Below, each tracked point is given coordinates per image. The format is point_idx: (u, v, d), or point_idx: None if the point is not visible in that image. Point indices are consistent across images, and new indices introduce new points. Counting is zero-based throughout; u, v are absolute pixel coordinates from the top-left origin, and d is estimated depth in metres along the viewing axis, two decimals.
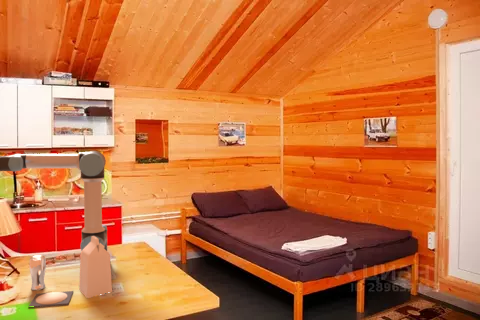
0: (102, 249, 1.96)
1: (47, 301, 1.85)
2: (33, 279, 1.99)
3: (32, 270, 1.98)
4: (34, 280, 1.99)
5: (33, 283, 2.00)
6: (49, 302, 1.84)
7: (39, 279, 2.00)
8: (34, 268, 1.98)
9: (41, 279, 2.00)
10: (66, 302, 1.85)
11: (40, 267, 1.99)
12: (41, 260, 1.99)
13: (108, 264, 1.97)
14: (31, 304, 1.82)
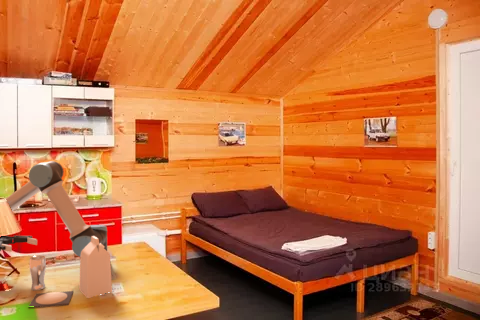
0: (102, 249, 1.96)
1: (47, 301, 1.85)
2: (33, 279, 1.99)
3: (32, 270, 1.98)
4: (34, 280, 1.99)
5: (33, 283, 2.00)
6: (49, 302, 1.84)
7: (39, 279, 2.00)
8: (34, 268, 1.98)
9: (41, 279, 2.00)
10: (66, 302, 1.85)
11: (40, 267, 1.99)
12: (41, 260, 1.99)
13: (108, 264, 1.97)
14: (31, 304, 1.82)
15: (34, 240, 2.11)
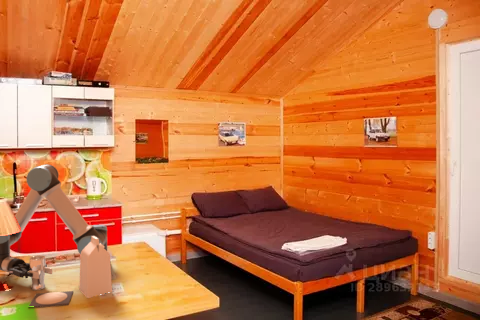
0: (102, 249, 1.96)
1: (47, 301, 1.85)
2: (33, 279, 1.99)
3: (32, 270, 1.98)
4: (34, 280, 1.99)
5: (33, 283, 2.00)
6: (49, 302, 1.84)
7: (39, 279, 2.00)
8: (34, 268, 1.98)
9: (41, 279, 2.00)
10: (66, 302, 1.85)
11: (40, 267, 1.99)
12: (41, 260, 1.99)
13: (108, 264, 1.97)
14: (31, 304, 1.82)
15: (49, 269, 2.02)
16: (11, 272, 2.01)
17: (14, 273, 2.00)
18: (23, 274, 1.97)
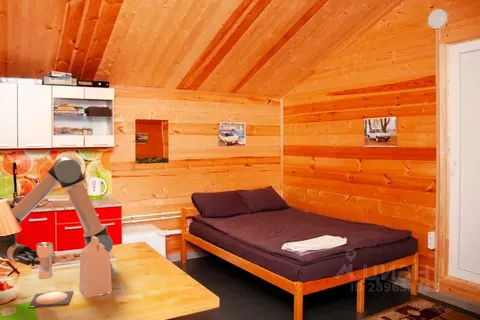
0: (102, 249, 1.96)
1: (47, 301, 1.85)
2: (40, 267, 1.87)
3: (39, 257, 1.86)
4: (41, 268, 1.87)
5: (40, 271, 1.87)
6: (49, 302, 1.84)
7: (46, 267, 1.88)
8: (41, 255, 1.86)
9: (48, 268, 1.88)
10: (66, 302, 1.85)
11: (47, 254, 1.87)
12: (48, 247, 1.87)
13: (108, 264, 1.97)
14: (31, 304, 1.82)
15: (57, 257, 1.90)
16: (17, 259, 1.89)
17: (20, 261, 1.88)
18: (29, 261, 1.85)
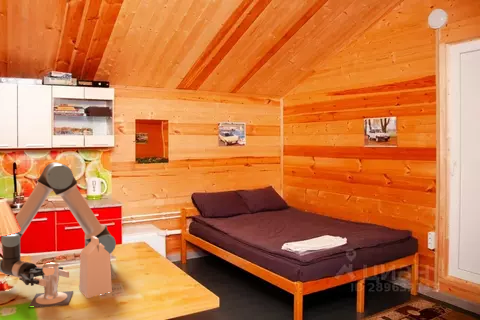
0: (102, 249, 1.96)
1: (47, 301, 1.85)
2: (46, 288, 1.85)
3: (45, 279, 1.84)
4: (47, 289, 1.85)
5: (46, 293, 1.86)
6: (49, 302, 1.84)
7: (52, 289, 1.86)
8: (47, 277, 1.84)
9: (54, 289, 1.86)
10: (66, 302, 1.85)
11: (53, 276, 1.85)
12: (54, 268, 1.85)
13: (108, 264, 1.97)
14: (31, 304, 1.82)
15: (66, 272, 1.92)
16: (20, 277, 1.87)
17: (22, 279, 1.86)
18: (28, 281, 1.82)
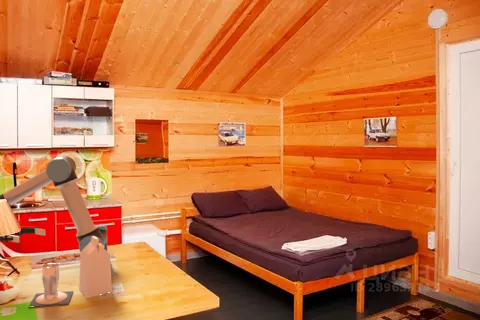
0: (102, 249, 1.96)
1: (47, 301, 1.85)
2: (46, 288, 1.85)
3: (45, 279, 1.84)
4: (47, 289, 1.85)
5: (46, 293, 1.86)
6: (49, 302, 1.84)
7: (52, 289, 1.86)
8: (47, 277, 1.84)
9: (54, 289, 1.87)
10: (66, 302, 1.85)
11: (53, 276, 1.85)
12: (54, 268, 1.85)
13: (108, 264, 1.97)
14: (31, 304, 1.82)
15: (42, 230, 2.02)
16: None
17: None
18: (3, 238, 1.91)
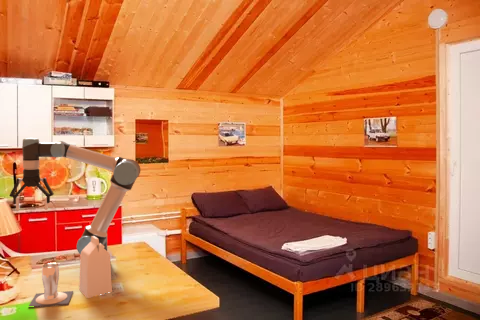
0: (102, 249, 1.96)
1: (47, 301, 1.85)
2: (46, 288, 1.85)
3: (45, 279, 1.84)
4: (47, 289, 1.85)
5: (46, 293, 1.86)
6: (49, 302, 1.84)
7: (52, 289, 1.86)
8: (47, 277, 1.84)
9: (54, 289, 1.87)
10: (66, 302, 1.85)
11: (53, 275, 1.85)
12: (54, 268, 1.85)
13: (108, 264, 1.97)
14: (31, 304, 1.82)
15: None
16: None
17: (15, 184, 2.13)
18: None
